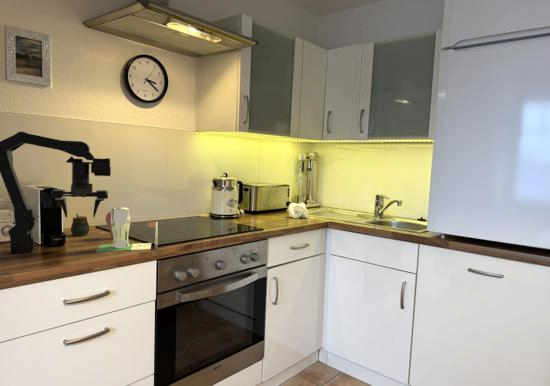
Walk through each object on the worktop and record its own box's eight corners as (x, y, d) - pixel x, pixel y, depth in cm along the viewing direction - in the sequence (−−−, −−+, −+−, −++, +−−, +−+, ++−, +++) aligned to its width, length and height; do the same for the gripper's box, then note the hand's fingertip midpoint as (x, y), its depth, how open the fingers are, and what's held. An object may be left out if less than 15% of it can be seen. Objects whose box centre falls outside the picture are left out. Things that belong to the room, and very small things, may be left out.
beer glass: (106, 247, 145) (106, 208, 143) (120, 244, 151) (119, 206, 150) (121, 249, 142) (121, 209, 141) (134, 246, 149) (134, 207, 147)
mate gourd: (90, 233, 173) (89, 211, 172) (88, 236, 166) (88, 213, 165) (72, 234, 170) (71, 211, 169) (69, 237, 163) (69, 214, 162)
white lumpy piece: (312, 217, 235) (313, 203, 234) (300, 219, 226) (300, 204, 225) (297, 215, 242) (298, 201, 241) (285, 217, 233) (286, 203, 232)
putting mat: (95, 251, 140) (95, 227, 139) (100, 245, 149) (99, 222, 148) (157, 249, 146) (157, 225, 145) (157, 243, 155) (157, 221, 154)
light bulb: (103, 237, 163) (102, 210, 162) (119, 235, 168) (119, 208, 167) (109, 240, 158) (109, 211, 157) (126, 238, 163) (126, 210, 162)
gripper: (48, 175, 131) (48, 220, 132) (107, 177, 138) (106, 220, 139) (53, 174, 141) (53, 216, 143) (108, 175, 148) (107, 215, 150)
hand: (80, 217), depth 143 cm, fingers open, 9 cm apart
